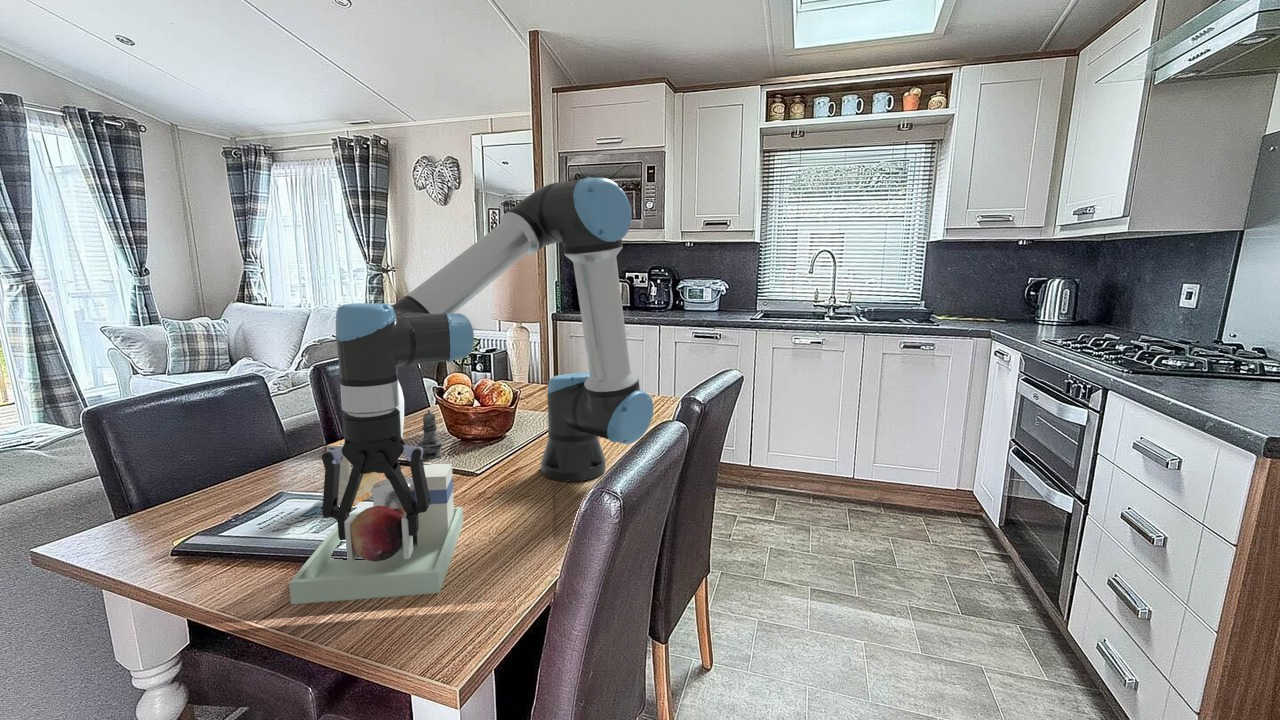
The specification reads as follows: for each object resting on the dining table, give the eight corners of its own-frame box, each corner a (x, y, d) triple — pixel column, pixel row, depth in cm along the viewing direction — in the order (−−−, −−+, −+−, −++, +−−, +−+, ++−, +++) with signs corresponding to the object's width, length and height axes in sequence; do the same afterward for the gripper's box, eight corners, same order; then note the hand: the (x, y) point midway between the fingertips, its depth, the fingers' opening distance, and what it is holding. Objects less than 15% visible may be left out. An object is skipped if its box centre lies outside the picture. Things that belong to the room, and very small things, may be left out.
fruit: (374, 543, 88) (370, 496, 87) (417, 548, 87) (415, 500, 85) (339, 568, 80) (335, 517, 79) (386, 574, 79) (383, 522, 78)
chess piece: (431, 450, 142) (429, 405, 140) (448, 454, 139) (446, 408, 137) (413, 457, 137) (410, 410, 135) (430, 461, 134) (428, 413, 132)
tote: (463, 527, 100) (462, 506, 100) (440, 597, 79) (438, 572, 78) (348, 534, 97) (346, 512, 96) (291, 609, 76) (288, 582, 75)
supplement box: (351, 512, 106) (347, 447, 104) (330, 509, 107) (325, 445, 104) (380, 495, 114) (376, 434, 112) (359, 493, 115) (355, 432, 112)
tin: (425, 529, 98) (422, 475, 96) (416, 549, 91) (412, 491, 89) (383, 531, 96) (379, 477, 95) (370, 551, 90) (366, 493, 88)
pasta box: (454, 527, 98) (452, 463, 96) (448, 544, 92) (446, 476, 91) (425, 529, 98) (421, 464, 96) (417, 546, 92) (413, 477, 90)
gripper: (448, 402, 85) (454, 540, 89) (307, 405, 82) (319, 548, 86) (438, 414, 78) (445, 564, 81) (283, 419, 74) (298, 574, 78)
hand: (381, 556), depth 84 cm, fingers closed on fruit, 7 cm apart
